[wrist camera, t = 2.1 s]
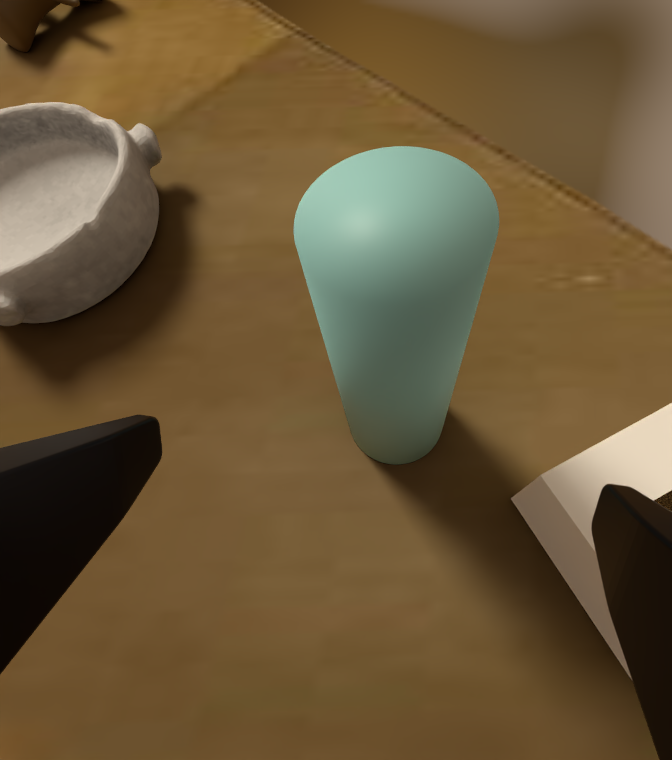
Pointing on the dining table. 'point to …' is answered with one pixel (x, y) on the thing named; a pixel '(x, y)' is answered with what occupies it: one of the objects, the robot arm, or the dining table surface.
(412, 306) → the teal dowel
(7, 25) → the kendama
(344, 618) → the dining table surface
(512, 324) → the dining table surface
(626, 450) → the well block
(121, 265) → the dish
